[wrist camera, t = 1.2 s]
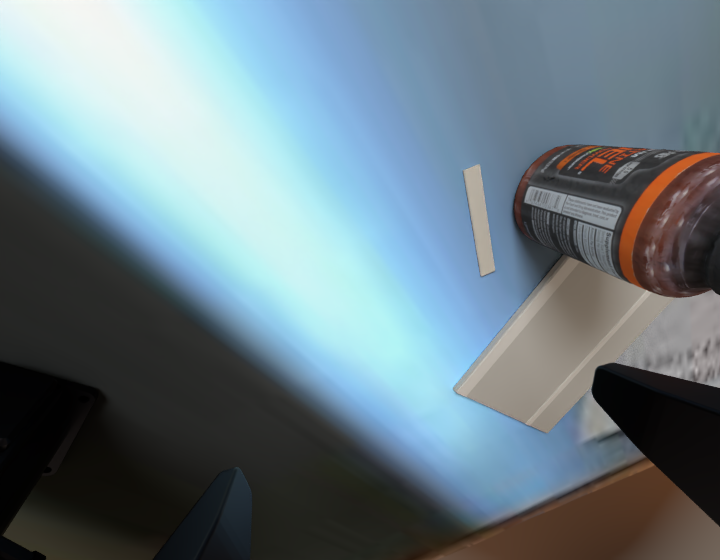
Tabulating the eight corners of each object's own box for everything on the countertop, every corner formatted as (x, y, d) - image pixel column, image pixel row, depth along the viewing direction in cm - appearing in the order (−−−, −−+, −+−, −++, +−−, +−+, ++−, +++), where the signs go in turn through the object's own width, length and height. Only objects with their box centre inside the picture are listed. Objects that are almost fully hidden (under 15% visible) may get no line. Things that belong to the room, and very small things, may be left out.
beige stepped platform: (544, 430, 31) (547, 434, 31) (452, 388, 26) (455, 392, 26) (676, 287, 28) (683, 289, 27) (601, 208, 23) (607, 209, 22)
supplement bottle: (592, 127, 20) (912, 129, 10) (593, 220, 23) (846, 292, 13) (502, 165, 20) (744, 205, 10) (514, 254, 23) (713, 357, 13)
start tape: (480, 276, 23) (481, 276, 22) (462, 170, 19) (463, 170, 19) (494, 270, 23) (494, 270, 23) (478, 164, 19) (479, 164, 19)
